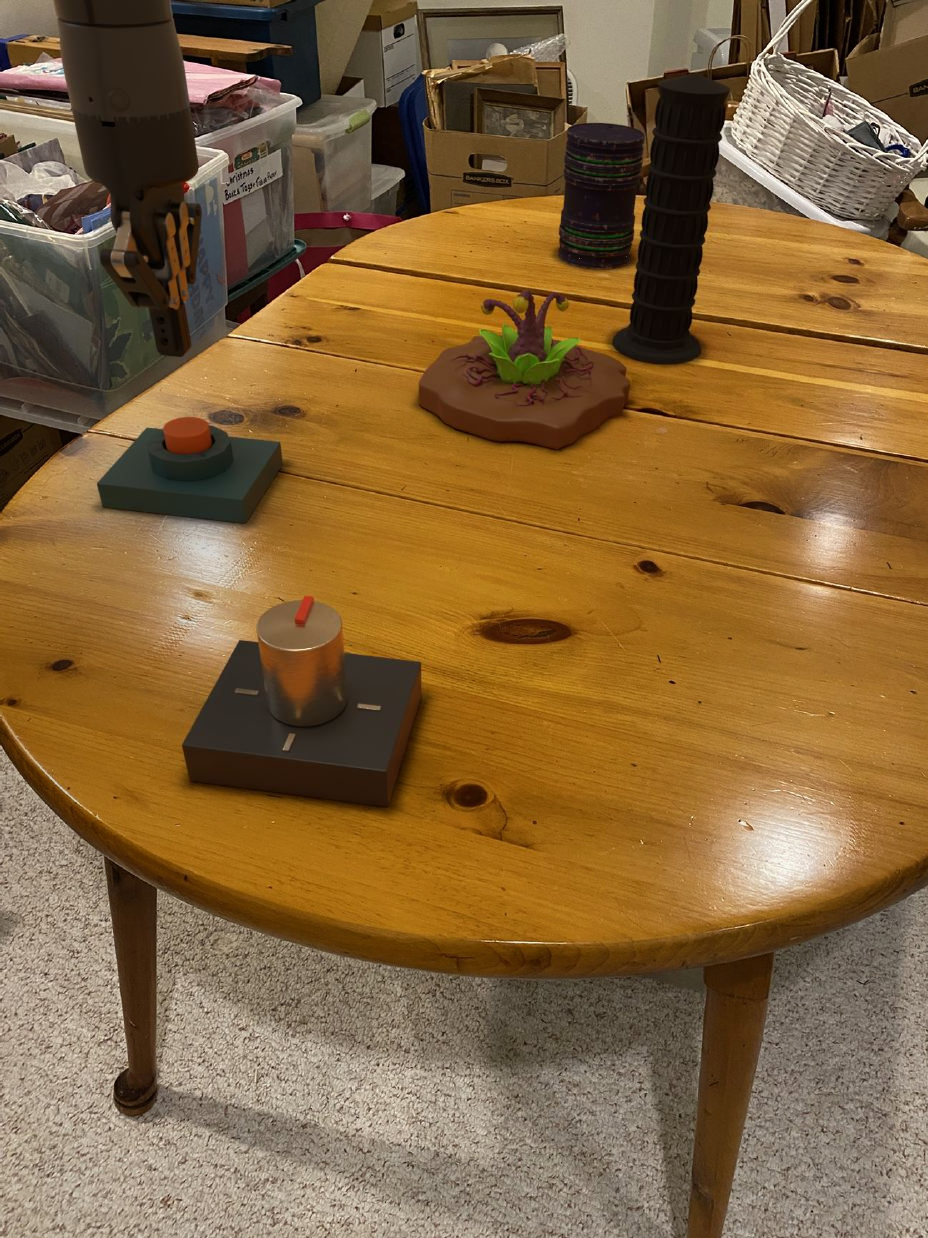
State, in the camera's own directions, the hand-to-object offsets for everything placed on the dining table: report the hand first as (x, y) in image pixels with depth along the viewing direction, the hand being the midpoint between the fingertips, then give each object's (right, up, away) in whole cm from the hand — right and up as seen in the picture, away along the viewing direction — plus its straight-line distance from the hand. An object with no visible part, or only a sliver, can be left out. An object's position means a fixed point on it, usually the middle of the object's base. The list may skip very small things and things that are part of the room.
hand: (175, 352), depth 79 cm
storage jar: (+37, +31, +57) cm, 75 cm away
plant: (+27, +3, +23) cm, 36 cm away
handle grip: (+42, +12, +35) cm, 56 cm away
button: (-1, -6, +5) cm, 8 cm away
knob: (+14, -27, -17) cm, 34 cm away
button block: (-1, -9, +8) cm, 12 cm away
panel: (+13, -29, -15) cm, 35 cm away
